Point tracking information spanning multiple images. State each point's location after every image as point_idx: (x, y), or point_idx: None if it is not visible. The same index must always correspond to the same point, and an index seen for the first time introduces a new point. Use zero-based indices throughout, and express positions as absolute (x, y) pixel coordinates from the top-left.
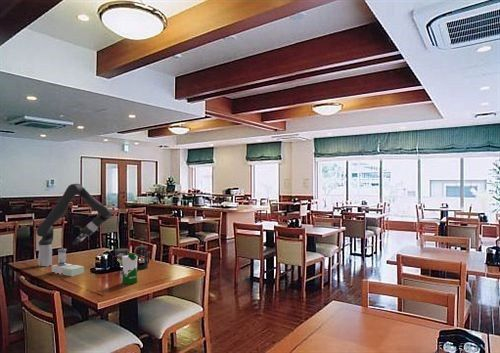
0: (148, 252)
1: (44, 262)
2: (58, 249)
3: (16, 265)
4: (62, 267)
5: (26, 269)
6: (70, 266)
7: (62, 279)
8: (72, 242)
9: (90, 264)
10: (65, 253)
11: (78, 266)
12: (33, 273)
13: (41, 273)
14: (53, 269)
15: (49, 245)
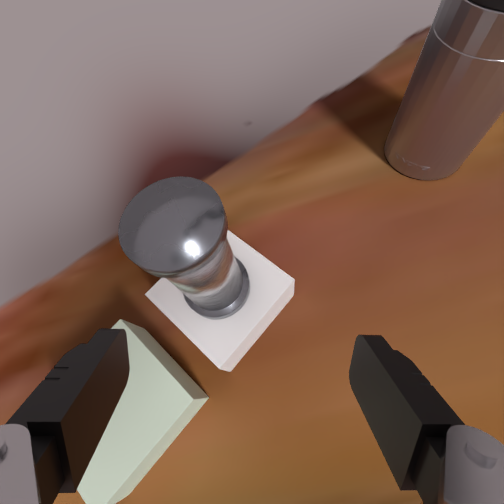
0: None
1: (394, 137)
2: (175, 183)
3: None
4: (158, 307)
5: (333, 103)
6: (144, 370)
7: (24, 360)
8: (93, 339)
9: None
10: (175, 280)
11: (115, 452)
12: (235, 161)
13: (223, 197)
14: None
15: (492, 24)
